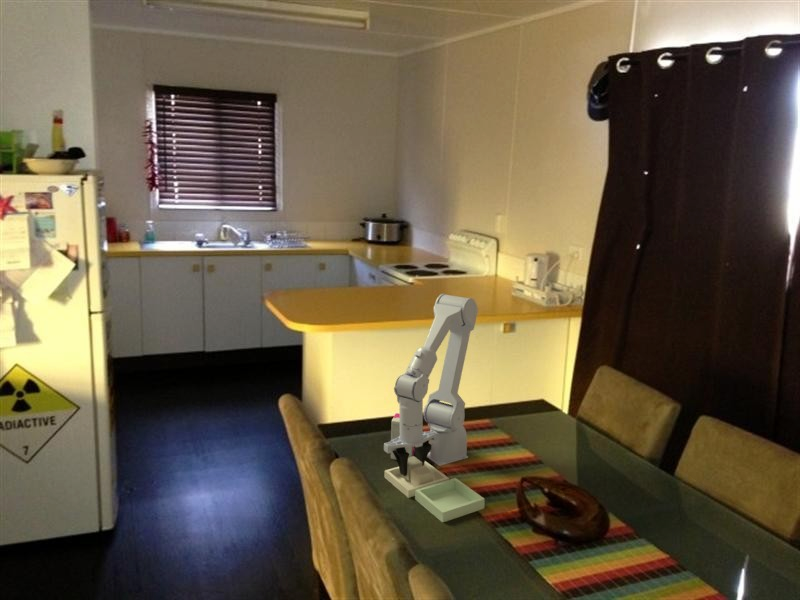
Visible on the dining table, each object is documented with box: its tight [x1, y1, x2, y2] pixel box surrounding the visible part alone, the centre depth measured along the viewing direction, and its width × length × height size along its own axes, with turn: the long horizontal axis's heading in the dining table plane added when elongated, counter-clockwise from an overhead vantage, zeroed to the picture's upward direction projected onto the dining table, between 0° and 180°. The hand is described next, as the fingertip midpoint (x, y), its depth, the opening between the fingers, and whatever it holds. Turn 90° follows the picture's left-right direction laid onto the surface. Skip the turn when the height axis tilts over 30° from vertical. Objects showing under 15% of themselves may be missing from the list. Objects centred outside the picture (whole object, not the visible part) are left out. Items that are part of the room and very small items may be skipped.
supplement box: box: [390, 413, 415, 461], centre depth 183 cm, size 6×6×12 cm
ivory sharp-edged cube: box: [411, 466, 433, 487], centre depth 168 cm, size 4×4×4 cm
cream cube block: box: [400, 455, 422, 481], centre depth 172 cm, size 4×4×4 cm
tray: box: [384, 460, 450, 499], centre depth 170 cm, size 12×12×2 cm
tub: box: [414, 477, 485, 523], centre depth 160 cm, size 12×12×3 cm
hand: (411, 472), depth 172 cm, fingers closed on cream cube block, 4 cm apart
